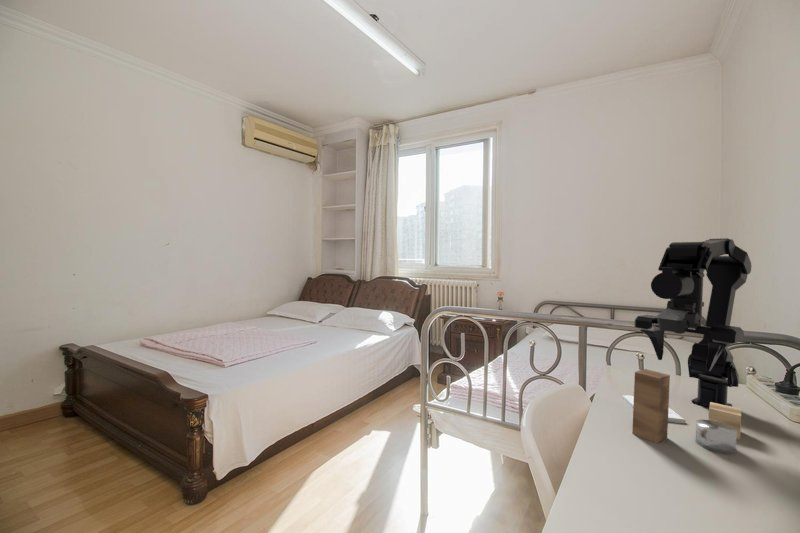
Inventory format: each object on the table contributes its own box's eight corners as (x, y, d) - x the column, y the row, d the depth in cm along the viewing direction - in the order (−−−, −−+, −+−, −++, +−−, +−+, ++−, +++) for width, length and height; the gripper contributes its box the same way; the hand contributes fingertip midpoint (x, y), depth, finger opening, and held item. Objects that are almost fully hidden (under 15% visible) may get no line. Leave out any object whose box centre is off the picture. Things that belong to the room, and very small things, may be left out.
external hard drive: (657, 404, 92) (685, 426, 79) (622, 400, 93) (645, 421, 81) (657, 397, 92) (686, 418, 79) (622, 394, 93) (645, 414, 81)
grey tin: (702, 436, 74) (703, 417, 74) (740, 449, 69) (741, 429, 69) (690, 443, 71) (690, 423, 71) (729, 458, 66) (730, 437, 65)
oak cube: (709, 423, 80) (710, 401, 80) (739, 431, 76) (741, 408, 76) (708, 431, 76) (709, 408, 76) (740, 439, 73) (741, 415, 73)
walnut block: (642, 428, 76) (645, 368, 76) (667, 437, 73) (669, 375, 72) (632, 433, 74) (634, 371, 74) (656, 443, 70) (659, 378, 70)
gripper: (623, 294, 84) (621, 359, 84) (726, 304, 68) (723, 384, 69) (646, 292, 90) (644, 353, 90) (746, 301, 74) (742, 374, 74)
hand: (683, 365), depth 81 cm, fingers open, 9 cm apart
